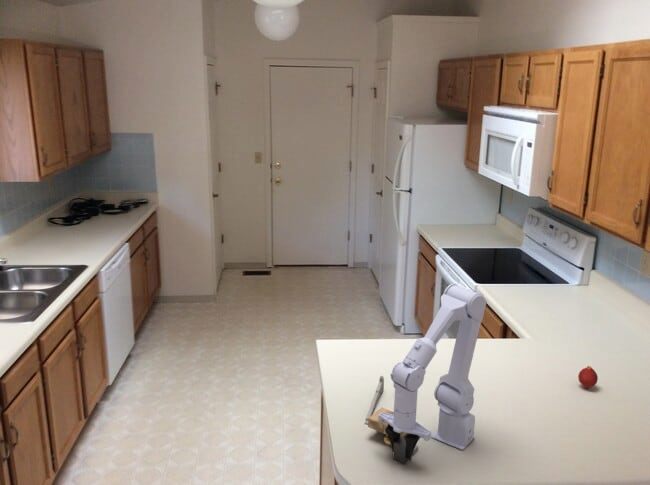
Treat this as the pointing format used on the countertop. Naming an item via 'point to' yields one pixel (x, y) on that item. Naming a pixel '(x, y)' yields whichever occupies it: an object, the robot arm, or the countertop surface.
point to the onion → (588, 377)
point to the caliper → (375, 397)
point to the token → (387, 440)
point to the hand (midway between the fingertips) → (402, 453)
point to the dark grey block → (401, 451)
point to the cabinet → (381, 426)
